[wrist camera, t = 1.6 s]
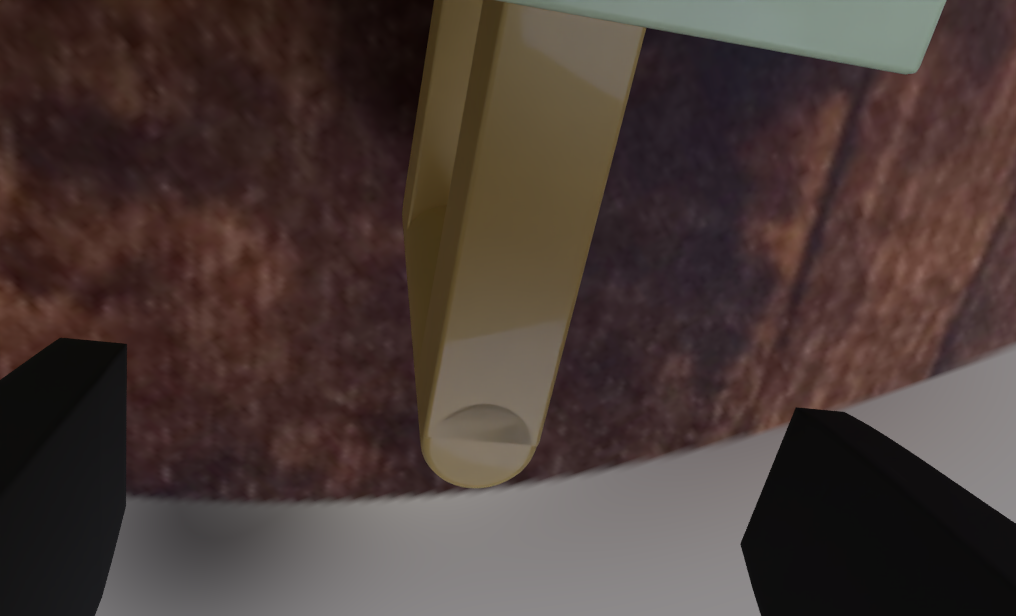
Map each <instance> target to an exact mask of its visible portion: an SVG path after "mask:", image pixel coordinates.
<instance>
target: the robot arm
mask: <svg viewBox="0 0 1016 616" xmlns="http://www.w3.org/2000/svg"><path fill="white" fill-rule="evenodd" d="M126 388H127V344H122V343H111V342H101V341H90V340H79V339H69V338H59V339H58V340H56V341H55V342H53V343H52V344H50V345H49V346H47V347H46V348H45V349H43V350H42V351H40V352H39V353H38V354H36V355H35V356H33V357H32V358H30V359H29V360H28V361H26V362H25V363H23V364H22V365H21V366H19V367H18V368H16V369H15V370H14V371H12V372H11V373H9V374H8V375H7V376H5V377H4V378H2V379H1V380H0V616H95V614H96V611H97V608H98V606H99V603H100V601H101V598H102V595H103V591H104V588H105V584H106V580H107V576H108V573H109V569H110V566H111V562H112V558H113V554H114V551H115V547H116V543H117V539H118V535H119V531H120V527H121V523H122V519H123V515H124V511H125V507H126ZM741 548H742V551H743V555H744V559H745V562H746V566H747V570H748V573H749V577H750V580H751V584H752V588H753V591H754V594H755V598H756V601H757V604H758V607H759V610H760V613H761V616H1016V523H1014V522H1013V521H1011V520H1010V519H1008V518H1007V517H1005V516H1004V515H1002V514H1001V513H999V512H998V511H996V510H995V509H993V508H992V507H990V506H988V504H986V503H985V502H983V501H982V500H980V499H979V498H977V497H976V496H974V495H973V494H971V493H970V492H969V491H967V490H966V489H964V488H963V487H961V486H960V485H958V484H957V483H955V482H954V481H952V480H951V479H950V478H948V477H947V476H945V475H944V474H942V473H941V472H939V471H938V470H936V469H935V468H933V467H932V466H931V465H929V464H927V463H926V462H925V461H923V460H922V459H920V458H919V457H917V456H916V455H914V454H913V453H911V452H910V451H908V450H907V449H905V448H904V447H902V446H901V445H899V444H898V443H896V442H894V441H893V440H891V439H890V438H888V437H887V436H885V435H884V434H882V433H880V432H879V431H877V430H876V429H874V428H872V427H871V426H869V425H867V424H865V423H864V422H862V421H860V420H858V419H856V418H855V417H853V416H851V415H849V414H847V413H845V412H838V411H828V410H817V409H807V408H796V409H795V411H794V413H793V416H792V418H791V421H790V423H789V426H788V428H787V431H786V433H785V436H784V438H783V440H782V443H781V445H780V448H779V450H778V453H777V455H776V458H775V460H774V463H773V465H772V468H771V470H770V472H769V475H768V478H767V480H766V482H765V485H764V487H763V490H762V492H761V495H760V497H759V500H758V502H757V504H756V507H755V510H754V512H753V514H752V517H751V519H750V522H749V524H748V527H747V529H746V532H745V534H744V536H743V539H742V541H741Z"/></svg>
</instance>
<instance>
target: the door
mask: <svg viewBox="0 0 1016 616" xmlns="http://www.w3.org/2000/svg"><path fill="white" fill-rule="evenodd" d="M945 2H946V0H434V5H433V11H432V18H431V25H430V31H429V38H428V44H427V51H426V57H425V64H424V70H423V77H422V83H421V90H420V96H419V103H418V110H417V116H416V123H415V129H414V136H413V142H412V149H411V155H410V162H409V168H408V175H407V182H406V188H405V195H404V201H403V210H402V219H403V231H404V244H405V256H406V269H407V281H408V293H409V306H410V318H411V330H412V343H413V355H414V368H415V380H416V392H417V405H418V417H419V430H420V442H421V450H422V454H423V456H424V459H425V461H426V462H427V464H428V465H429V466H430V468H431V469H432V470H433V471H434V472H435V473H436V474H437V475H438V476H439V477H441V478H442V479H444V480H445V481H447V482H449V483H451V484H454V485H457V486H461V487H467V488H485V487H491V486H495V485H498V484H501V483H503V482H506V481H507V480H509V479H511V478H513V477H514V476H516V475H517V474H518V473H520V472H521V471H522V470H523V469H524V468H525V467H526V466H527V464H528V463H529V462H530V460H531V458H532V456H533V454H534V452H535V450H536V447H537V446H538V444H539V442H540V438H541V434H542V430H543V426H544V422H545V418H546V414H547V411H548V407H549V403H550V399H551V395H552V391H553V387H554V383H555V380H556V376H557V372H558V368H559V364H560V360H561V356H562V352H563V349H564V345H565V341H566V337H567V333H568V329H569V325H570V321H571V318H572V314H573V310H574V306H575V302H576V298H577V294H578V290H579V287H580V283H581V279H582V275H583V271H584V267H585V263H586V259H587V256H588V252H589V248H590V244H591V240H592V236H593V232H594V228H595V225H596V221H597V217H598V213H599V209H600V205H601V201H602V197H603V194H604V190H605V186H606V182H607V178H608V174H609V170H610V166H611V163H612V159H613V155H614V151H615V147H616V143H617V139H618V135H619V132H620V128H621V124H622V120H623V116H624V112H625V108H626V104H627V101H628V97H629V93H630V89H631V85H632V81H633V77H634V73H635V70H636V66H637V62H638V58H639V54H640V50H641V46H642V42H643V39H644V35H645V31H646V28H651V29H657V30H662V31H668V32H673V33H679V34H684V35H690V36H695V37H701V38H706V39H712V40H717V41H723V42H729V43H734V44H740V45H745V46H751V47H756V48H762V49H767V50H773V51H778V52H784V53H789V54H795V55H801V56H806V57H812V58H817V59H823V60H828V61H834V62H839V63H845V64H850V65H856V66H861V67H867V68H873V69H878V70H884V71H889V72H895V73H900V74H911V73H916V71H917V70H918V69H919V68H920V65H921V62H922V60H923V57H924V55H925V52H926V50H927V47H928V45H929V42H930V40H931V37H932V35H933V32H934V30H935V27H936V25H937V22H938V20H939V17H940V15H941V12H942V10H943V7H944V5H945Z"/></svg>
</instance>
